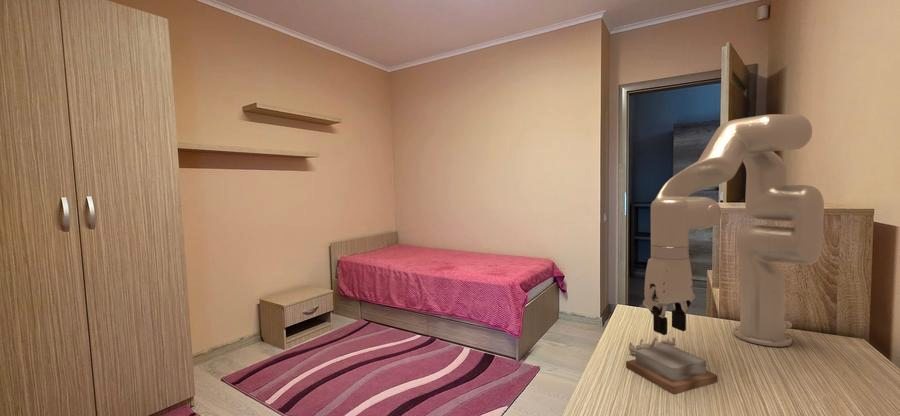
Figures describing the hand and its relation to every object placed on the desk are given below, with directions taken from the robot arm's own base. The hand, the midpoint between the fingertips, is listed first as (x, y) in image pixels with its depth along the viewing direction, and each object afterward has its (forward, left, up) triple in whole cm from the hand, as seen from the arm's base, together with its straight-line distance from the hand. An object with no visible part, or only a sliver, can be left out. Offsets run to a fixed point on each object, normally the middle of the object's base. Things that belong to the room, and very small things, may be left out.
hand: (669, 330), depth 87 cm
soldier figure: (-11, -8, -9) cm, 17 cm away
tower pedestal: (0, 0, -10) cm, 10 cm away
